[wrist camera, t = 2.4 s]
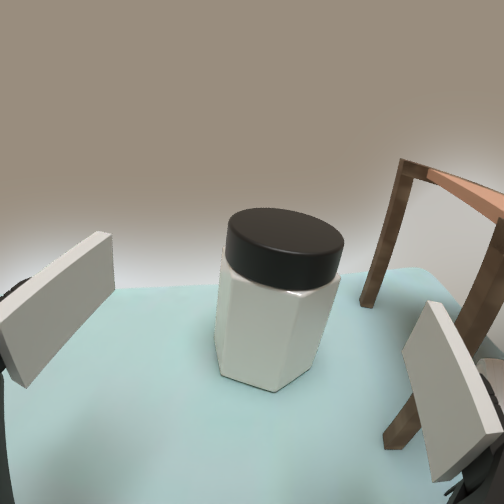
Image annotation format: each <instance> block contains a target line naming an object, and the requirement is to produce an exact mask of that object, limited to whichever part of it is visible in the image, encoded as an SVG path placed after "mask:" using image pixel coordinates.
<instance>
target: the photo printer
mask: <svg viewBox="0 0 504 504" xmlns="http://www.w3.org/2000/svg"><path fill="white" fill-rule="evenodd" d="M476 368H477V370H478V372H479V373H482V374H483V375H484V377H485V378H486V379H487V380H488V381H489V383H490V384H491V386H492V388H493V391H494V393H495V396H496V397H497V399H498V402H499V403H498V405H500V406H501V409H502V411H503V413H504V360H500V359H494V358H482V359H480V360H479V361H478V362H477V365H476Z"/></svg>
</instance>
